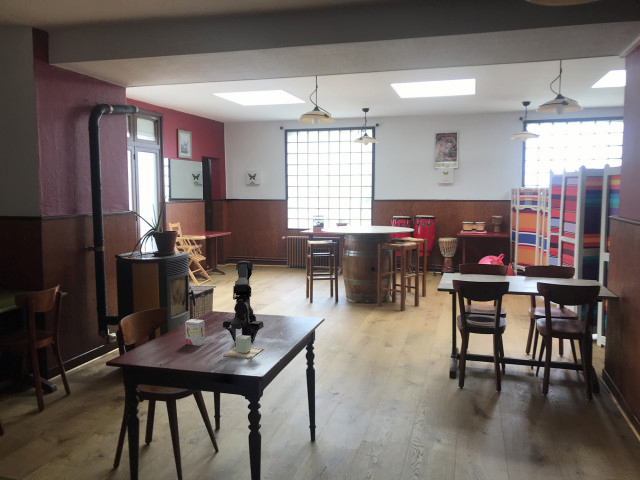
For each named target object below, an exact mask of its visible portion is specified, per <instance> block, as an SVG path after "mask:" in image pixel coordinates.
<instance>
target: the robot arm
mask: <svg viewBox="0 0 640 480" xmlns="http://www.w3.org/2000/svg"><path fill="white" fill-rule="evenodd" d="M235 267H236V268H235V270H236V272H237V280H235V282H234V285H233V289H232V291H233V292H232V300H235V304H234V308H233V310H234V313H235V314H234V317H233V319H230V318H227V319H225V320H223V322H222V328H223V329H224V328H225V330H227V331H228V332H229V334H230V336H231V338H232V341H233V342H234V343H236V338H237V330H241V335H244V336H251V344H253V343H254V342H255V339H256V337H257V334H258V332H259V331H260V330H261V329H263V328H264V326H265V325H264V322H263V321H262V320H257V316H256V315H255V313H254V309H253V308H252V306H251V297H252V287H251V284H250V279H251V277H252V275H253V271H254V263H253V262H251V261H248V260H240V261H237V262H236V263H235Z"/></svg>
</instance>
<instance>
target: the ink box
mask: <svg viewBox="0 0 640 480" xmlns="http://www.w3.org/2000/svg"><path fill="white" fill-rule="evenodd" d="M184 324H185V327H184V328H185V344H186V345H189V346H190V345H191V346H196V347H197V346H199V347H200V346H202V345H204V344H206V332H205V331H206V328H205V327H206V326H205V320H203V319H196V318H191V319H188V320H186V321H185V323H184Z"/></svg>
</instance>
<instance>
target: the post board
mask: <svg viewBox="0 0 640 480" xmlns="http://www.w3.org/2000/svg"><path fill="white" fill-rule="evenodd" d="M263 350H264V348H262V347H252V346H251V350H250V351H248V352H247V353H240V352H236V346H235V347H234V348H231V350H229V351H228V352H226V353H225V354H223V357H225V358H226V357H227V358H228V357H229V358H236V359H237V358H238V359H247V360H248V359H249V360H251V359H253V358H255V357H256V356H257V355H259V354H260V353H261V352H263Z"/></svg>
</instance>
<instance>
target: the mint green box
mask: <svg viewBox="0 0 640 480" xmlns="http://www.w3.org/2000/svg"><path fill="white" fill-rule="evenodd" d="M235 347H236V352H240V353H247V352H248V351H250V350H251V347H252V342H251V336H244V335H242V334H240V335H239V336H236V341H235Z"/></svg>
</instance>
